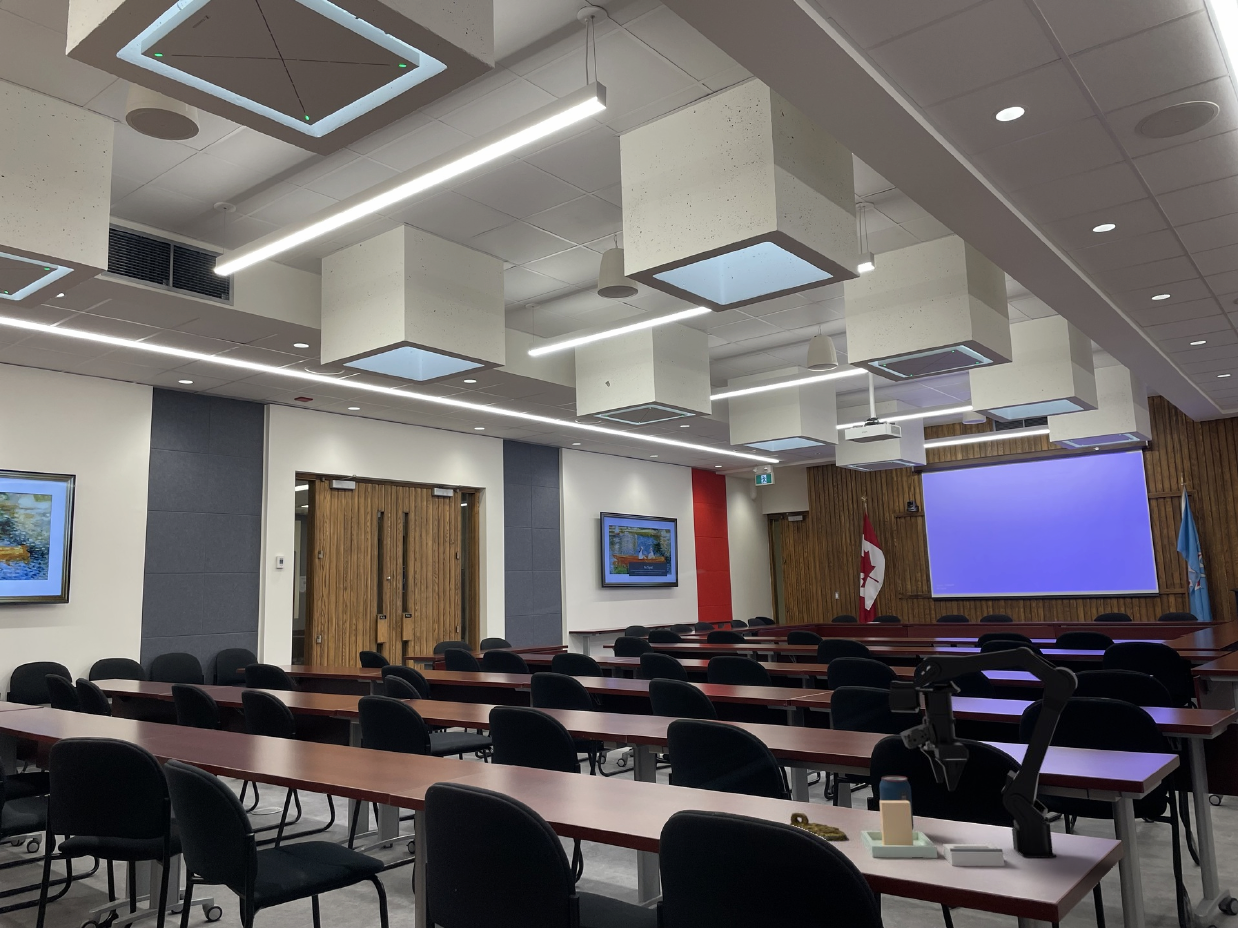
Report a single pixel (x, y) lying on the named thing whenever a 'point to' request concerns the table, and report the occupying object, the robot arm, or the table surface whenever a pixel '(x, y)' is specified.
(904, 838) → the tan cardboard block
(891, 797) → the soda can
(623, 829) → the table surface
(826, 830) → the seal
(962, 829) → the table surface
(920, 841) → the tray
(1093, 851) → the table surface
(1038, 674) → the robot arm
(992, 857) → the dispenser
